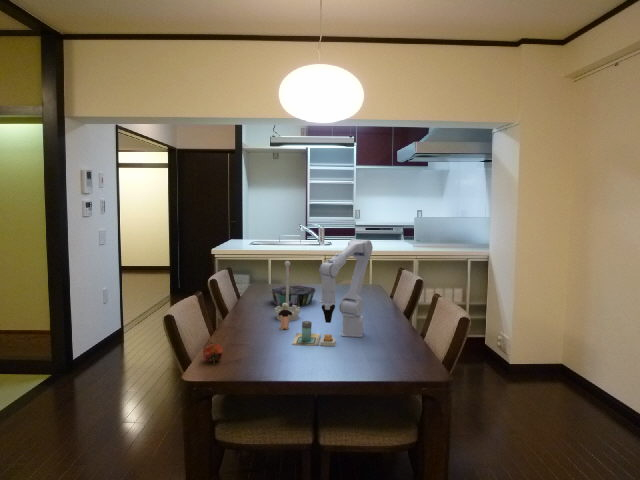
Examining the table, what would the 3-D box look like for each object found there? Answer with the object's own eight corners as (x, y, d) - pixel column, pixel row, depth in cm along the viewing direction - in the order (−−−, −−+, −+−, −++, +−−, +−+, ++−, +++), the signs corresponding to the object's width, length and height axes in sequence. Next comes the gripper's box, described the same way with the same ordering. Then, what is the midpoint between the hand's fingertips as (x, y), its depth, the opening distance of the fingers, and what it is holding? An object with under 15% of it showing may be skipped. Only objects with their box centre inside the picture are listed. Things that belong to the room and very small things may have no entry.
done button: (332, 339, 186) (332, 334, 186) (331, 342, 183) (331, 336, 183) (324, 339, 186) (324, 334, 186) (324, 341, 183) (324, 336, 183)
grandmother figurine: (278, 330, 202) (278, 304, 201) (276, 328, 206) (276, 302, 205) (294, 329, 205) (294, 303, 203) (292, 327, 208) (292, 301, 207)
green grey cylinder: (311, 338, 189) (311, 321, 188) (311, 342, 185) (311, 323, 184) (301, 338, 189) (302, 320, 188) (301, 341, 185) (301, 323, 184)
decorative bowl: (321, 309, 250) (323, 292, 249) (276, 310, 239) (277, 292, 238) (305, 299, 273) (307, 284, 273) (263, 300, 263) (264, 284, 262)
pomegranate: (225, 368, 163) (224, 346, 170) (222, 358, 157) (221, 335, 165) (205, 371, 161) (204, 349, 168) (201, 361, 156) (201, 338, 163)
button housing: (335, 341, 188) (335, 337, 188) (334, 346, 182) (335, 342, 181) (321, 341, 188) (321, 337, 188) (320, 345, 182) (320, 342, 182)
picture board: (320, 335, 196) (320, 333, 196) (318, 345, 182) (318, 343, 182) (296, 334, 197) (296, 332, 197) (292, 344, 183) (292, 342, 183)
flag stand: (296, 322, 217) (296, 263, 214) (271, 320, 219) (271, 262, 216) (302, 315, 229) (302, 259, 227) (279, 313, 232) (279, 258, 229)
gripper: (320, 287, 190) (320, 317, 191) (317, 294, 176) (317, 326, 177) (336, 287, 190) (336, 317, 191) (335, 294, 175) (334, 327, 177)
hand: (328, 322), depth 184 cm, fingers closed
